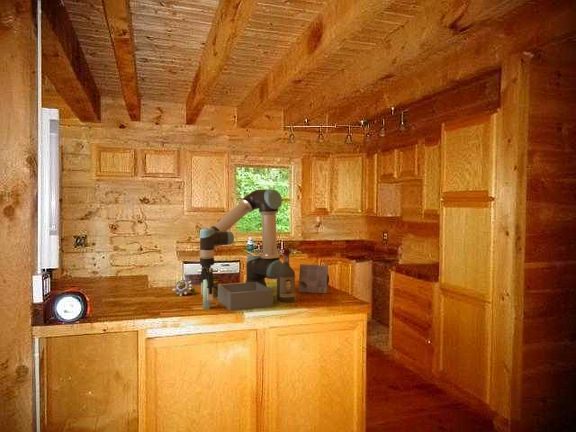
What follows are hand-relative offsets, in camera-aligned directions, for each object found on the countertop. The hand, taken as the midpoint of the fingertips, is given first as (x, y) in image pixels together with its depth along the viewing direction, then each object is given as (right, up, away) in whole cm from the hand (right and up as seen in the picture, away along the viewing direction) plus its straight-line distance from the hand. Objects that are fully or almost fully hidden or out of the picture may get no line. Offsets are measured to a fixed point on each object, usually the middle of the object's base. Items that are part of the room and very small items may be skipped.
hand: (206, 297), depth 210 cm
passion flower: (-20, -5, +31) cm, 37 cm away
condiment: (-3, -5, +27) cm, 27 cm away
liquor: (+42, -6, +19) cm, 46 cm away
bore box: (+19, -6, +12) cm, 23 cm away
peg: (0, -6, 0) cm, 6 cm away
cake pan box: (+60, -6, +42) cm, 73 cm away
